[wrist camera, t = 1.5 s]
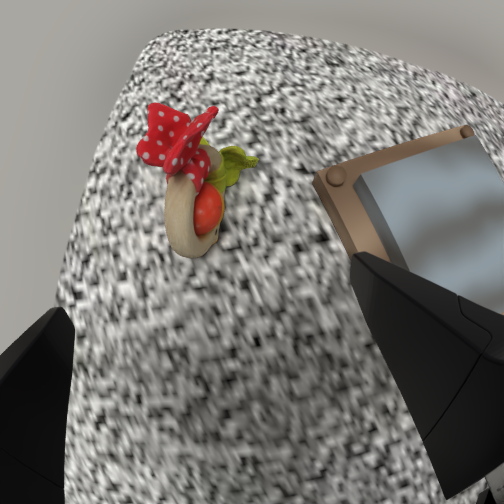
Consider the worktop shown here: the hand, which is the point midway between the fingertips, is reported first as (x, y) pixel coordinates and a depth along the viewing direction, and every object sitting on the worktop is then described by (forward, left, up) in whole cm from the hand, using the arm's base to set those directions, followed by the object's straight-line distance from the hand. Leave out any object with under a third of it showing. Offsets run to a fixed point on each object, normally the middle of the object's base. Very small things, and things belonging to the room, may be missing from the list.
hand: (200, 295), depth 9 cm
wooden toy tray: (-2, -19, -13) cm, 23 cm away
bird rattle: (+8, -2, -14) cm, 16 cm away
